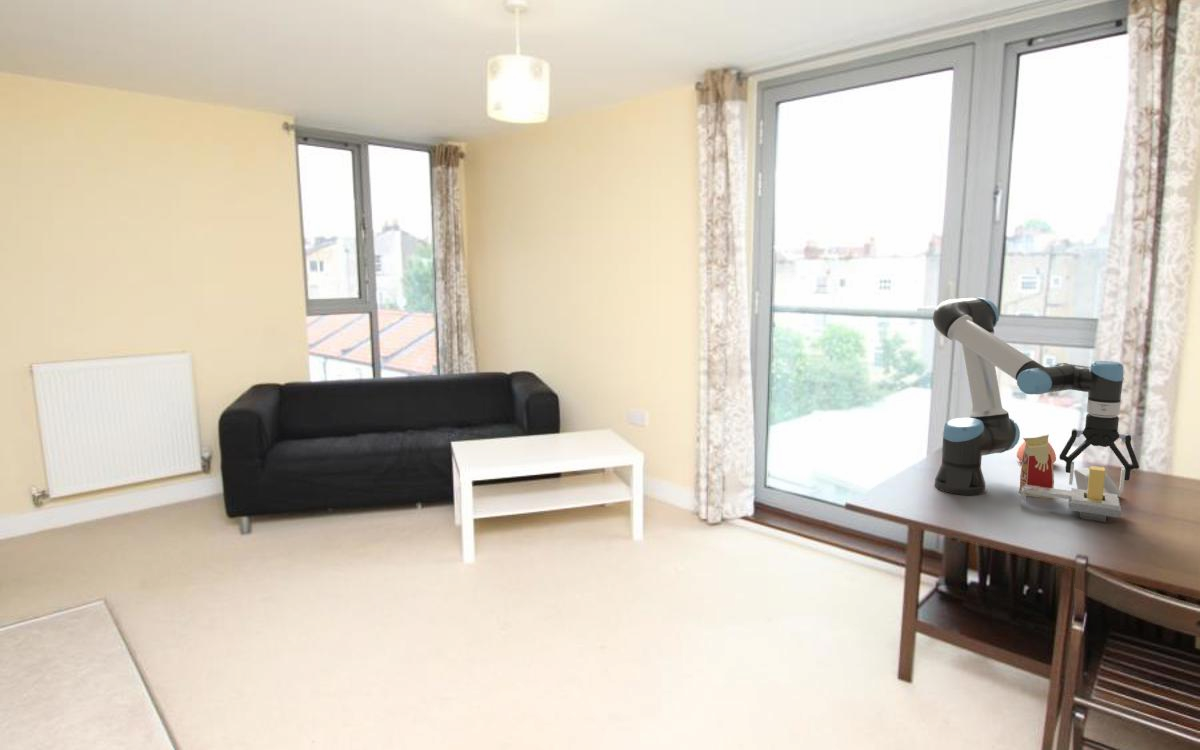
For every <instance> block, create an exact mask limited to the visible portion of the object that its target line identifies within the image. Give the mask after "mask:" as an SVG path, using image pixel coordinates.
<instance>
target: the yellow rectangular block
mask: <svg viewBox="0 0 1200 750" xmlns="http://www.w3.org/2000/svg"><path fill="white" fill-rule="evenodd" d="M1089 469H1090V470H1089V480H1088V491H1087V498H1089V499H1096V500H1102V497H1103V493H1104V478H1105V473H1106V467H1103V466H1101V467H1100V466H1093V465H1090V466H1089Z"/></svg>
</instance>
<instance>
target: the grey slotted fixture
mask: <svg viewBox="0 0 1200 750" xmlns="http://www.w3.org/2000/svg"><path fill="white" fill-rule="evenodd" d="M1087 491H1088V490H1082V489H1078V488H1074V487H1073V488H1072V487H1071V490H1067V489H1060V488H1055V487H1054V488H1047V487H1040V486H1033V485H1026V484H1025V486H1022V490H1021V493H1020V500H1021V501H1026V498H1027V496H1026V493H1029V494H1035V495H1042V496H1049V497H1052V498H1058V499H1064V500H1068V510H1070V511H1075V512H1076V511H1077V512H1079V518H1080V519H1085V520H1091V521H1096V522H1097V521H1099V522H1102V523H1104V522H1105V523H1106V521H1107V517H1113V518H1121V515H1122V514H1121V513H1122V508H1121V503H1120V502H1121V501H1120V498H1119V496H1118V497H1117V494H1110V493H1108V492H1103V497H1102V500H1096V499H1089V498H1087Z"/></svg>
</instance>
